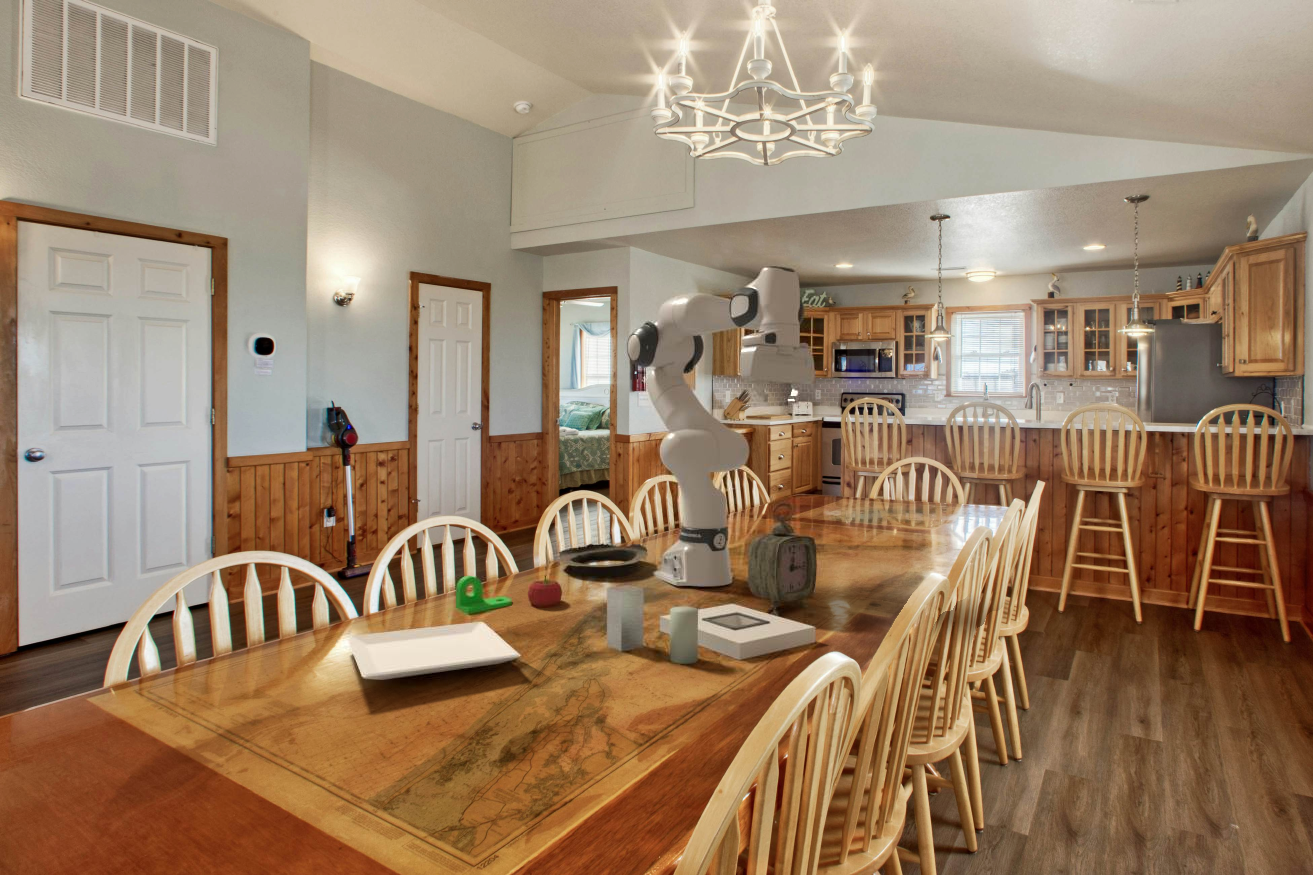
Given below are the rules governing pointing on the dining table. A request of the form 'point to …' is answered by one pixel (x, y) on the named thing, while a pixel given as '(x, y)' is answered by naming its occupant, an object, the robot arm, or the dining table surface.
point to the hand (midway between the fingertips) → (778, 403)
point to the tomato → (545, 593)
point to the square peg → (625, 617)
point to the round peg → (684, 635)
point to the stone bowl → (603, 553)
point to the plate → (428, 650)
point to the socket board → (746, 631)
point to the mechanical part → (476, 597)
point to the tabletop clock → (782, 564)
